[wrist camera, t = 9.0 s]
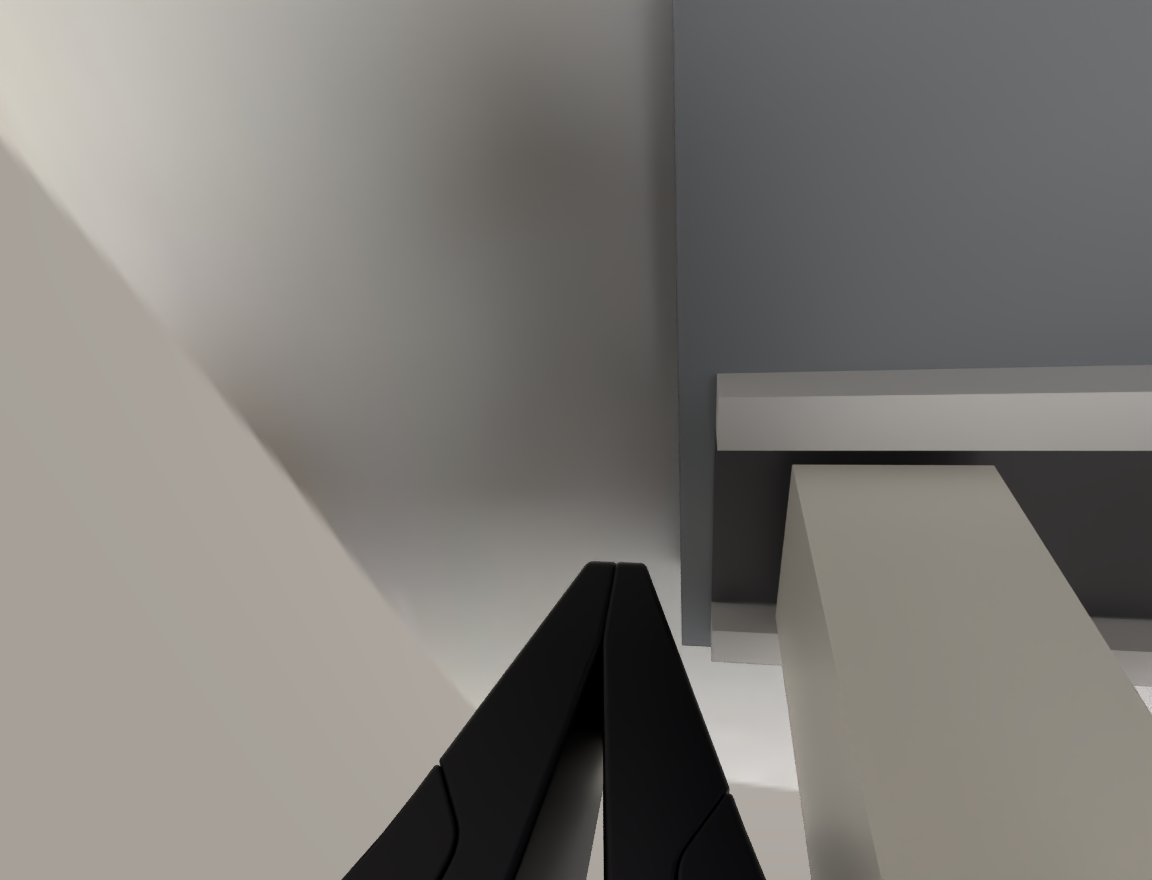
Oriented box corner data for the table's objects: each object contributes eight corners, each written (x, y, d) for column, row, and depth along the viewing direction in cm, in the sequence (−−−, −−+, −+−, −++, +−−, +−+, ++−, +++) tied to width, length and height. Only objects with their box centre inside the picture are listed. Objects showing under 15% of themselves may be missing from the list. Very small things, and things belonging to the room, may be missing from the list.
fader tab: (994, 464, 8) (1293, 935, 4) (940, 624, 10) (1112, 1063, 6) (792, 462, 8) (883, 889, 4) (774, 617, 10) (830, 1021, 6)
